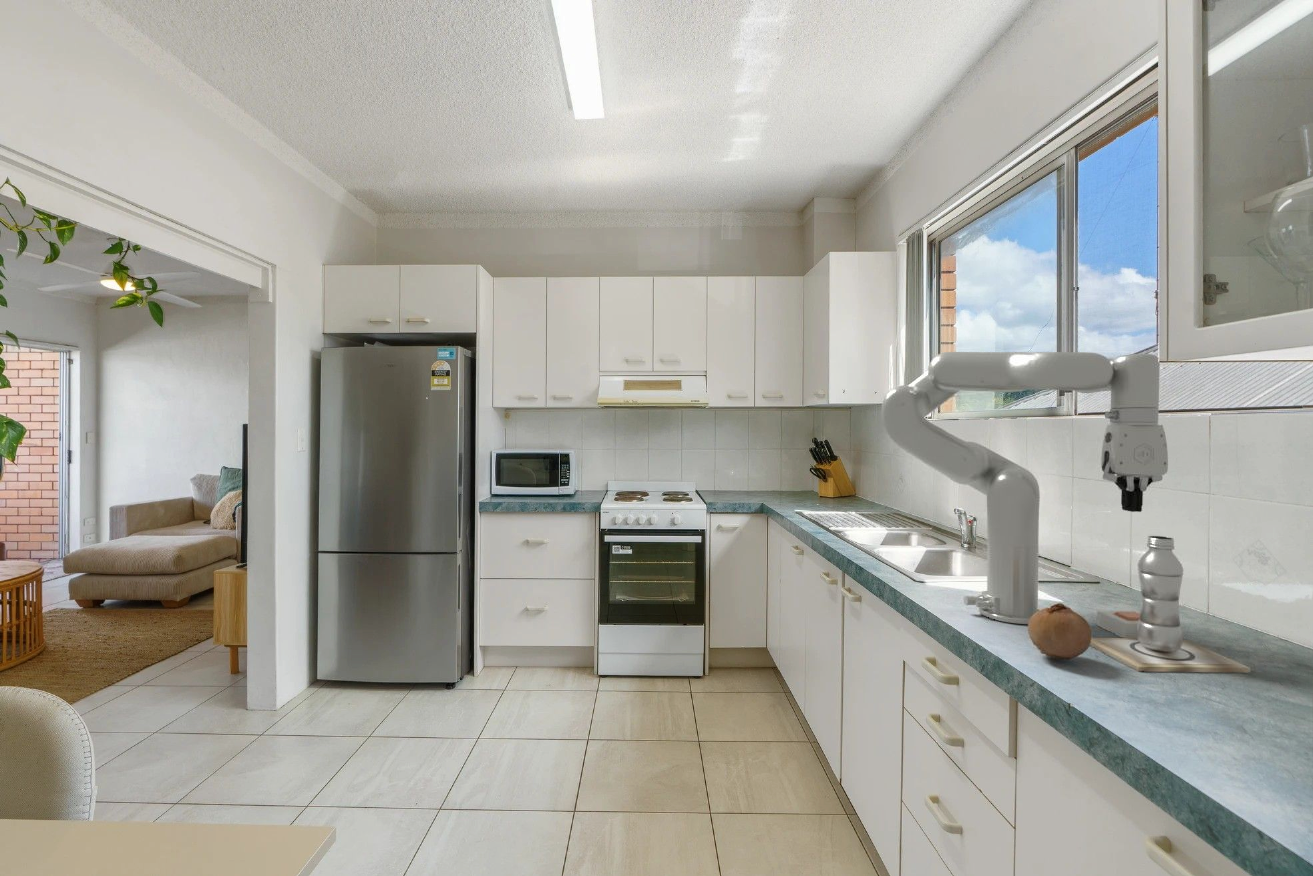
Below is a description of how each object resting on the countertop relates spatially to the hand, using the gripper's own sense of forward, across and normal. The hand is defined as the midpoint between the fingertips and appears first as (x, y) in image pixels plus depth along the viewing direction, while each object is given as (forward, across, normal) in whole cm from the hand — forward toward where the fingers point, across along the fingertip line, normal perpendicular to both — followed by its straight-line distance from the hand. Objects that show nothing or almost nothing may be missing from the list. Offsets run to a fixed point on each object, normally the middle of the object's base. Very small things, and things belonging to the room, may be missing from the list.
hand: (1131, 510), depth 123 cm
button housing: (+24, 0, 0) cm, 24 cm away
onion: (+24, -23, -15) cm, 37 cm away
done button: (+23, 0, 0) cm, 23 cm away
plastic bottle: (+23, -4, -13) cm, 27 cm away
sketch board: (+24, -4, -13) cm, 28 cm away
